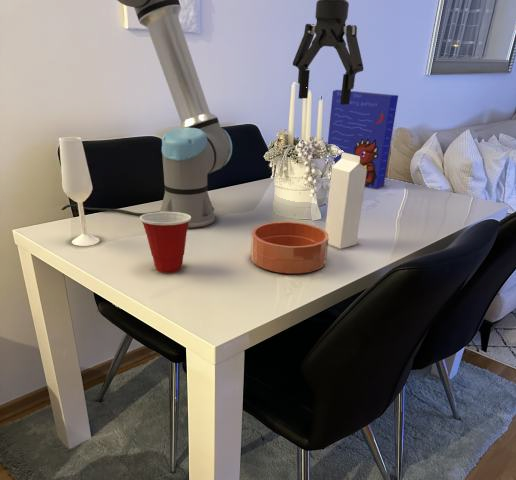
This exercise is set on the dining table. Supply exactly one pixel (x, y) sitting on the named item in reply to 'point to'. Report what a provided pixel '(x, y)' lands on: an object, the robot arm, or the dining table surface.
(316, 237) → the bowl
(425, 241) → the dining table surface
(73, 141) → the champagne flute
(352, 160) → the milk
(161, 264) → the plastic cup
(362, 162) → the cereal box
